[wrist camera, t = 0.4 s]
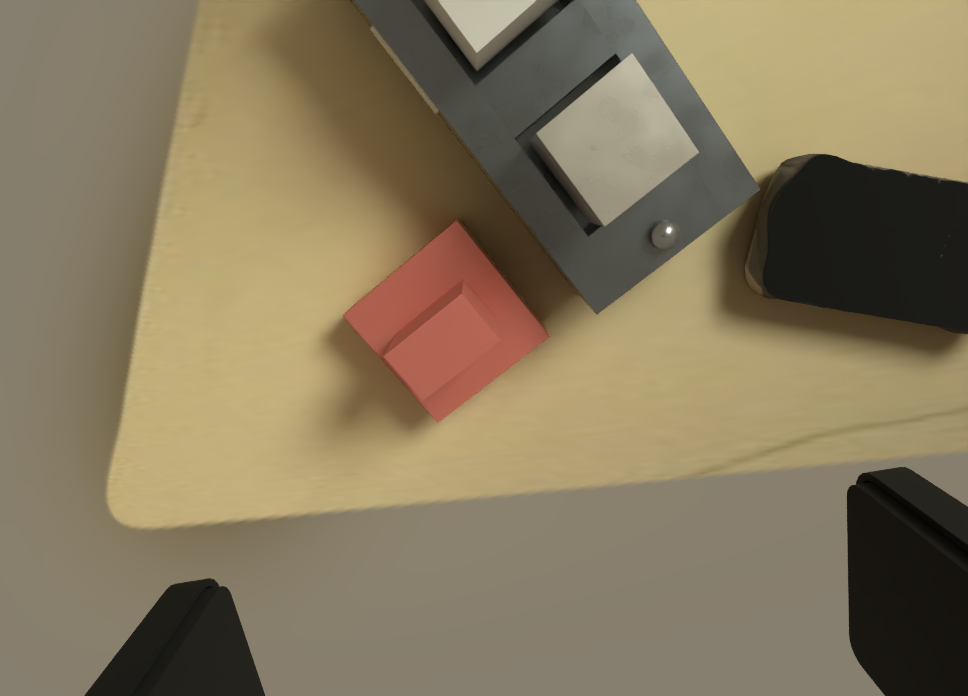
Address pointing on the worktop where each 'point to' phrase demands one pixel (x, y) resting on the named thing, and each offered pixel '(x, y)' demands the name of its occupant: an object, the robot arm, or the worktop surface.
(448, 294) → the cap
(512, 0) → the button
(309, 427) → the worktop surface
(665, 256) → the panel
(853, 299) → the black sponge
